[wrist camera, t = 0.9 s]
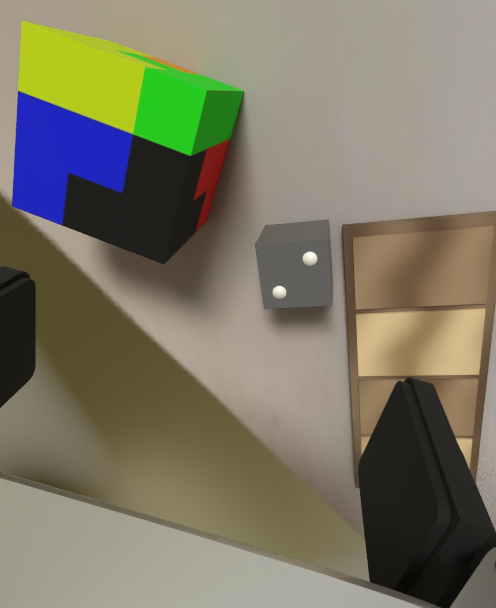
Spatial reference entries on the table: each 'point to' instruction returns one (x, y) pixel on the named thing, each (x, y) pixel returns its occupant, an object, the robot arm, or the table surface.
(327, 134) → the table surface
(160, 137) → the puzzle toy
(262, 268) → the die
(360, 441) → the board
